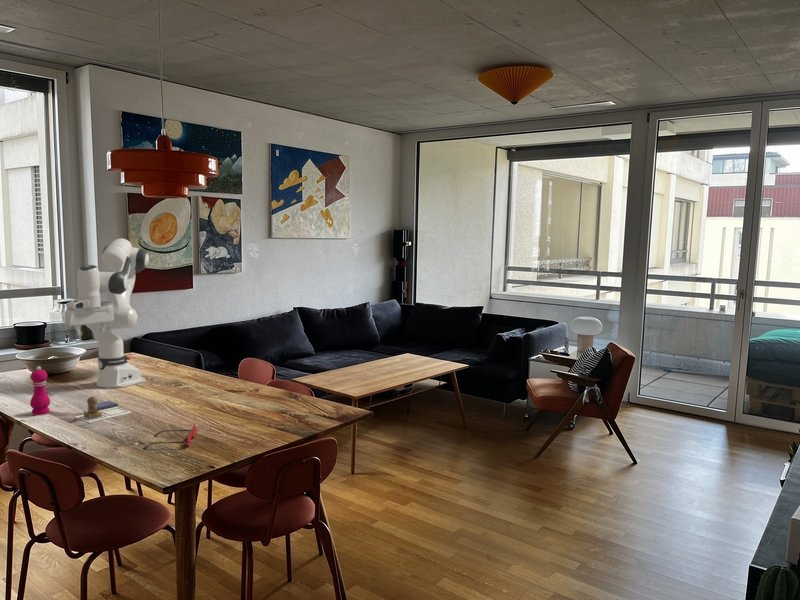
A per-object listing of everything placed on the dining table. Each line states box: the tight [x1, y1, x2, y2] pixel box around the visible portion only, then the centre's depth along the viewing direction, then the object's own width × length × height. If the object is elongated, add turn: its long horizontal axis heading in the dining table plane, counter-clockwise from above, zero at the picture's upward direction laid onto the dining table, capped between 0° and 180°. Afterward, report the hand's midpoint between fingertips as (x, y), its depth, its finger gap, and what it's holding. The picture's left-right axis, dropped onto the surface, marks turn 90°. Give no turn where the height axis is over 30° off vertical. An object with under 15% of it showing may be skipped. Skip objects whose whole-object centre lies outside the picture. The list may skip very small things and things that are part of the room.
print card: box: [74, 406, 133, 424], centre depth 252 cm, size 18×12×1 cm, turn 144°
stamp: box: [83, 396, 102, 419], centre depth 247 cm, size 5×5×8 cm
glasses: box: [142, 424, 199, 450], centre depth 222 cm, size 14×16×5 cm
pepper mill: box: [29, 365, 51, 416], centre depth 251 cm, size 7×7×20 cm
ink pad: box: [97, 400, 119, 411], centre depth 263 cm, size 9×7×1 cm
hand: (90, 334), depth 264 cm, fingers open, 8 cm apart
